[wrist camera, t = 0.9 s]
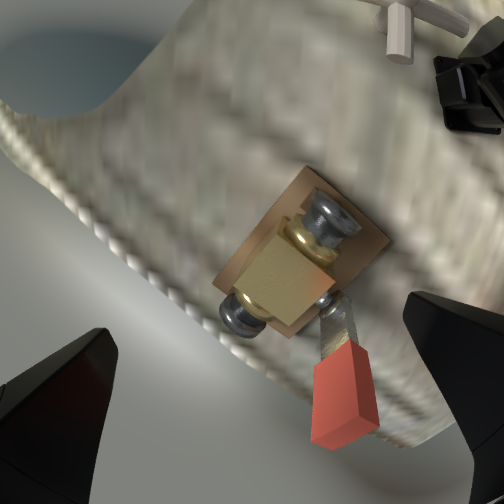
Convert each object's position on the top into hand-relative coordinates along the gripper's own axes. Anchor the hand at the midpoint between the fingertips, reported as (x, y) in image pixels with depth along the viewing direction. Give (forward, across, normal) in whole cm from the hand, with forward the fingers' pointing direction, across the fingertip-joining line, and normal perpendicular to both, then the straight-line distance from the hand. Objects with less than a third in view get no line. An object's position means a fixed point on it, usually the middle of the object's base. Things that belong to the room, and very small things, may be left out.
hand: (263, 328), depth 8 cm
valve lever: (+12, +7, -9) cm, 16 cm away
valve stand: (+15, +4, -7) cm, 17 cm away
